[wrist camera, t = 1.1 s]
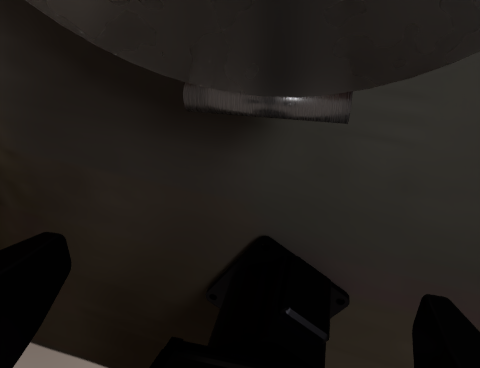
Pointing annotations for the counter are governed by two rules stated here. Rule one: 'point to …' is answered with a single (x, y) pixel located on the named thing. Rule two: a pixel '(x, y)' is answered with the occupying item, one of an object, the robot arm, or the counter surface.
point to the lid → (277, 47)
